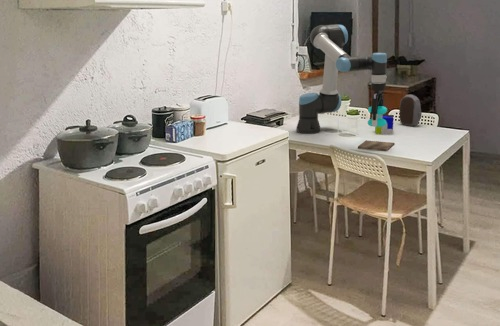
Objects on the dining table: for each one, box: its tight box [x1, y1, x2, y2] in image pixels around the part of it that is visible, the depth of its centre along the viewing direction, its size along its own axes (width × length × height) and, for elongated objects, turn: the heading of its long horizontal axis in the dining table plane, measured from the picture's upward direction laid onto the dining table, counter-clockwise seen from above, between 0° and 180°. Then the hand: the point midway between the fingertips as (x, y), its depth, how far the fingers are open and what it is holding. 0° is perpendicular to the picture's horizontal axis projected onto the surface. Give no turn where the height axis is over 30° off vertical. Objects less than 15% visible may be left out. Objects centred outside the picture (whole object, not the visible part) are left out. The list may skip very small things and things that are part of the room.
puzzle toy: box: [374, 114, 394, 135], centre depth 320 cm, size 10×10×10 cm
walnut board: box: [357, 140, 395, 152], centre depth 288 cm, size 16×16×1 cm
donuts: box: [367, 105, 388, 128], centre depth 284 cm, size 10×10×10 cm
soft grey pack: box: [398, 94, 423, 126], centre depth 338 cm, size 15×8×20 cm, turn 36°
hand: (377, 124), depth 285 cm, fingers closed on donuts, 10 cm apart
